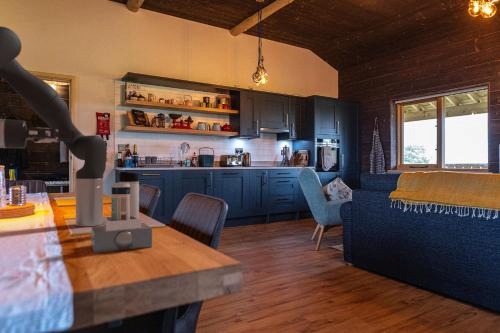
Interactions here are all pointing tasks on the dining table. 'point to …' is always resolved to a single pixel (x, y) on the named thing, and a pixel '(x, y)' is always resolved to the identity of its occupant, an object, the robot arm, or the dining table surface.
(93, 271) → the dining table surface
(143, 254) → the dining table surface
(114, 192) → the beer can
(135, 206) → the travel mug
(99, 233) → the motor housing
